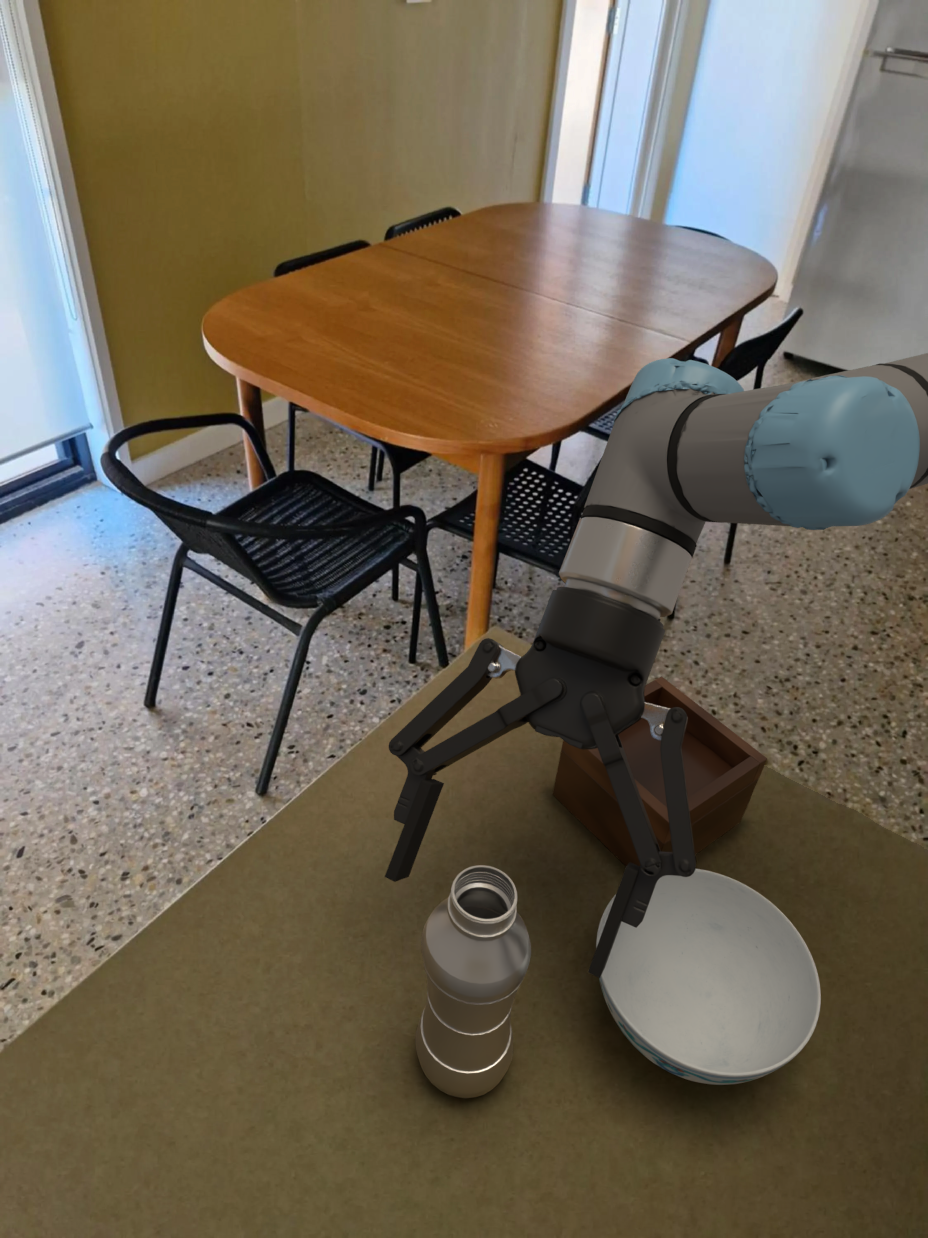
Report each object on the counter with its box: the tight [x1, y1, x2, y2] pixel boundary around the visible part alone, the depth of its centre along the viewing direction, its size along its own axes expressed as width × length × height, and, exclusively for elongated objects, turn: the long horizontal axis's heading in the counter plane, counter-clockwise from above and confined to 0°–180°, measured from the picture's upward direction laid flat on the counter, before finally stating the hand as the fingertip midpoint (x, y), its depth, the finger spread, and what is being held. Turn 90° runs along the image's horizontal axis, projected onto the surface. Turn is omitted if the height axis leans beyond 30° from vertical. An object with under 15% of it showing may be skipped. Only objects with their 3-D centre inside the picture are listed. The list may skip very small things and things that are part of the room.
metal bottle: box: [414, 864, 532, 1099], centre depth 55 cm, size 6×7×20 cm
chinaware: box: [595, 868, 822, 1086], centre depth 63 cm, size 15×15×8 cm
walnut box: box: [552, 676, 768, 867], centre depth 77 cm, size 12×12×8 cm
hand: (492, 922), depth 55 cm, fingers open, 13 cm apart
